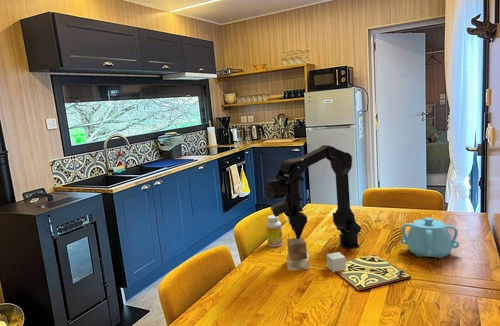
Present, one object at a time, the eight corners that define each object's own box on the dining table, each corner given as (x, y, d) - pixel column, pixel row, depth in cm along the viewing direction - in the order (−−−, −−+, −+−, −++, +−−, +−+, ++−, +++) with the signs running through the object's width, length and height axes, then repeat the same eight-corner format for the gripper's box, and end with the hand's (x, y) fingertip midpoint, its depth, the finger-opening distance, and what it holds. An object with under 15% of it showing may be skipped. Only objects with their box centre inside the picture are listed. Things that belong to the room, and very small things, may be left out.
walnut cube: (303, 251, 143) (302, 237, 142) (307, 258, 137) (305, 243, 136) (288, 253, 143) (287, 239, 142) (291, 260, 137) (289, 245, 136)
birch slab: (308, 261, 144) (308, 251, 143) (309, 270, 136) (308, 260, 135) (288, 261, 145) (287, 252, 144) (287, 271, 137) (286, 261, 136)
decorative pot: (432, 241, 150) (432, 209, 148) (464, 256, 134) (463, 220, 132) (397, 248, 146) (396, 216, 144) (425, 265, 131) (424, 228, 129)
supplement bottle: (282, 247, 159) (279, 218, 157) (266, 247, 160) (264, 219, 158) (283, 241, 165) (281, 213, 163) (269, 241, 167) (266, 214, 165)
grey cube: (339, 264, 138) (338, 251, 137) (346, 270, 133) (345, 257, 132) (327, 267, 137) (326, 254, 136) (333, 272, 132) (332, 259, 131)
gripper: (268, 190, 145) (271, 228, 147) (274, 203, 126) (277, 246, 129) (296, 187, 145) (299, 225, 148) (306, 199, 127) (309, 242, 129)
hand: (295, 234), depth 138 cm, fingers open, 9 cm apart
